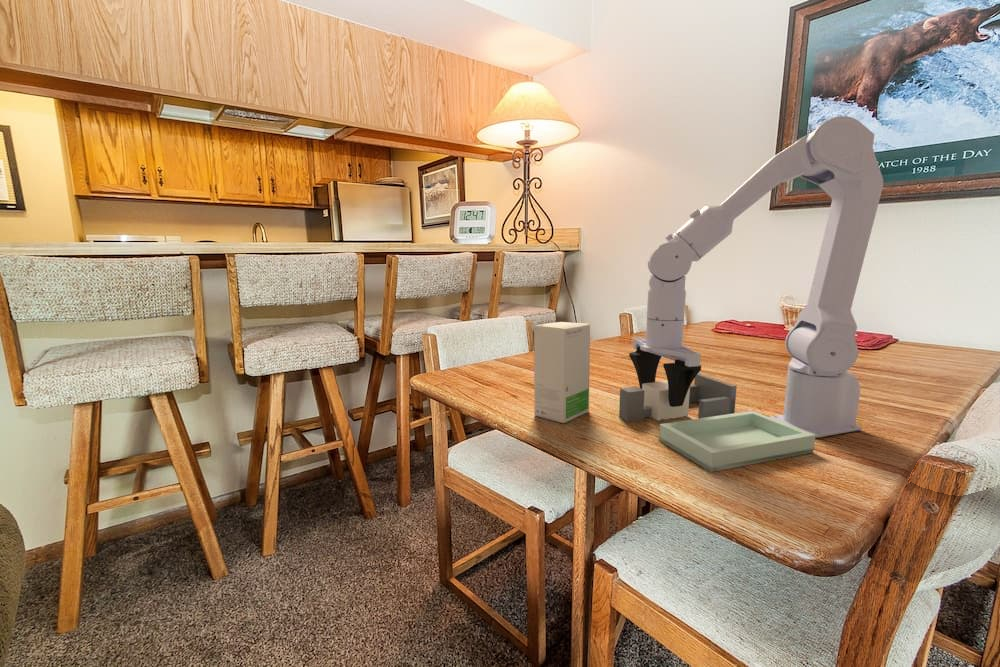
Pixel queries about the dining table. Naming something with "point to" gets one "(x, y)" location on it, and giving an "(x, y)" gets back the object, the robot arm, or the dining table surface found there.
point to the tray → (735, 440)
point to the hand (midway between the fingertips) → (660, 398)
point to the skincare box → (561, 370)
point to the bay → (712, 396)
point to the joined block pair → (649, 402)
